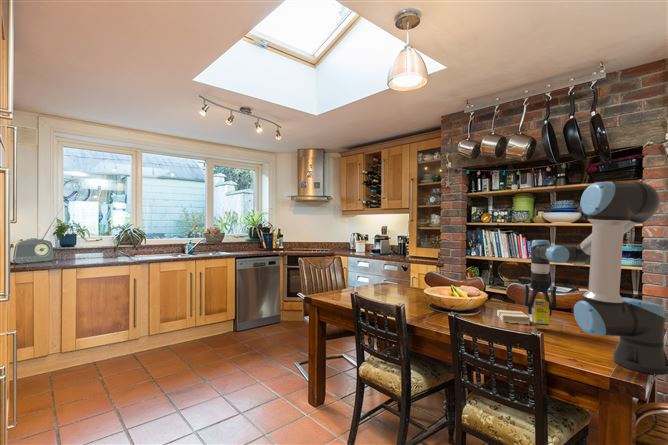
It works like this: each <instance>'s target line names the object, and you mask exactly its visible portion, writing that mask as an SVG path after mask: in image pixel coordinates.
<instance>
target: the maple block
mask: <svg viewBox="0 0 668 445" xmlns="http://www.w3.org/2000/svg"><path fill="white" fill-rule="evenodd" d="M497 316H498V317H499V318H500V319H501V320H502V321H503V322H509V323H508V324H511V323H518V324H517V325H524V324H528V325H527V326H530V323H531V321H530V316H528V315H527V314H526V313H525V312H524V311H521V310H510V309H509V310H504V309H496V317H497ZM498 317H497V318H498ZM499 318H498V319H499ZM500 319H499V320H500ZM501 320H500V321H501ZM502 321H501V322H502ZM503 322H502V323H503Z"/></svg>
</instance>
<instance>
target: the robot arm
mask: <svg viewBox="0 0 668 445" xmlns="http://www.w3.org/2000/svg"><path fill="white" fill-rule="evenodd" d="M579 202H580V204H579V206H580V208H581V211H582V212H583V214H584V215H587V221H588V222H589V223H590V224H591V225H592V226H591V227H592V228H591V229H592V230H591V233H590V235H588V236H587V237H586V238H585V239H583V241H582V242H580V243H579V244H578V245H564V244H563V245H561V244H559V245H558V244H551V242H550V240H547V239H533V240H532V241H531V246H530V255H531V256H530V258H531V259H530V261H531V262H530V263H531V264H530V271H531V272H530V282H529V283H527V284H523V288H524V291H523V292H524V293H523V302H522V303H523V305H524V306H525V307H527V313H528V314H529V317H530V323H532V322H534V308H533V307H532V306H533V303H534V300H535V299H536V297H537V295H538V293H539V294H540V293H542V294H543V299H544V300H545V301H547V302H549V317H550V316H551V317H552V314H553V312H552V311H553V309H555V308H557V289H558V288H557V286H555V285H552V284H550V276H551V275H550V274H549V273H550V271H551V269H550V268H551V267H550V263H554V264H564V263H567V264H570V263H575V264H589V277H588V278H589V279H588V290H587V291H586V292H585V291H584V293H583V294H582V300H579V301H577V302H576V303H575V304H574V306H573V315H574V318H575V321H576V323H577V325H578V327H579V328H580V329H581V330H582V331H583V332H585V333H586V334H588V335H590V336H599V337H604V336H608V337H619V341H618V343H617V345H616V347H615V349H614V351H613V354H612V361H613V362H614V363H616V364H617V365H619V366H621V367H624V368H626V369H629V370H632V371H635V372H640V373H644V374H648V373H649V374H650V375H658V376H659V375H660V376H666V375H668V356H667V353H666V350H665V330H666V329H665V325H666V323H665V322H666V317H665V308H664V307H663V306H662V305H661V304H658V303H655V302H651V301H648V300H647V301H646V300H642V299H636V298H631V297H626V296H625V297H623V296H621V295H620V286H621V277H622V276H621V273H622V261H623V260H622V257H623V246H624V244H623V243H624V235H625V234H626V233H628V232H629V231H630V230H631V229H633V228H634V227H635V226H636V225H638V224H644V223H645V222H647V221H648V220H650V218H652V217H653V216H654V215H656V214H655V213H656V212H657V211H658V210H659V207H660V204H661V198H660V194H659V192H658V190H657V189H655V188H654V186H652V185H650V184H647V183H646V182H645V183H644V182H639V181H634V182H631V181H630V182H629V181H628V182H627V181H598V182H593V183H591V184H590V185H588V186H587V188H586V189H584V191H583V193H582V195H581V198H580V201H579ZM530 289H532V291H531V294H530ZM548 290H550V296H549V293H548ZM529 296H530V297H529Z"/></svg>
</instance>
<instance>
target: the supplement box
mask: <svg viewBox="0 0 668 445" xmlns="http://www.w3.org/2000/svg"><path fill="white" fill-rule="evenodd" d="M532 307H533V308H534V322H531V323H532V324H533V325H537V326H546V327H547V326H550V316H549V302H547V301H545V299H539V298H538V299H536V298H535V300H534V303H533V306H532Z"/></svg>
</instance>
